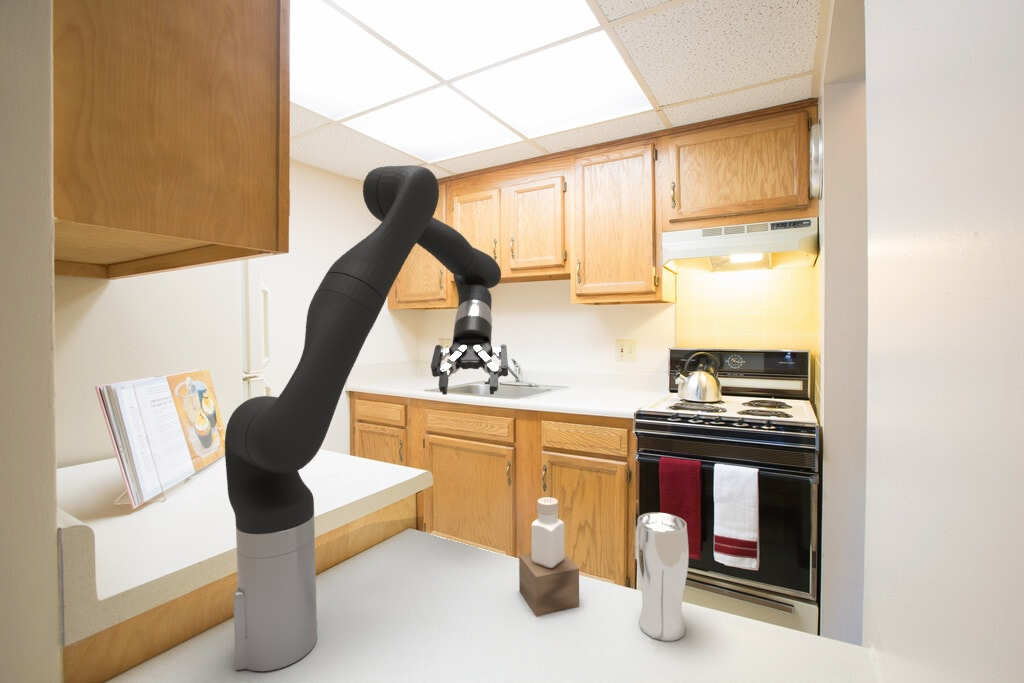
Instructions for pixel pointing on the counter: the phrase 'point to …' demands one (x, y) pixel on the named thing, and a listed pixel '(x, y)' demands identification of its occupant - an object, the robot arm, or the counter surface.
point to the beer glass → (662, 573)
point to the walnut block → (548, 585)
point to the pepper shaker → (547, 534)
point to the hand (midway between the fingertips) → (468, 391)
